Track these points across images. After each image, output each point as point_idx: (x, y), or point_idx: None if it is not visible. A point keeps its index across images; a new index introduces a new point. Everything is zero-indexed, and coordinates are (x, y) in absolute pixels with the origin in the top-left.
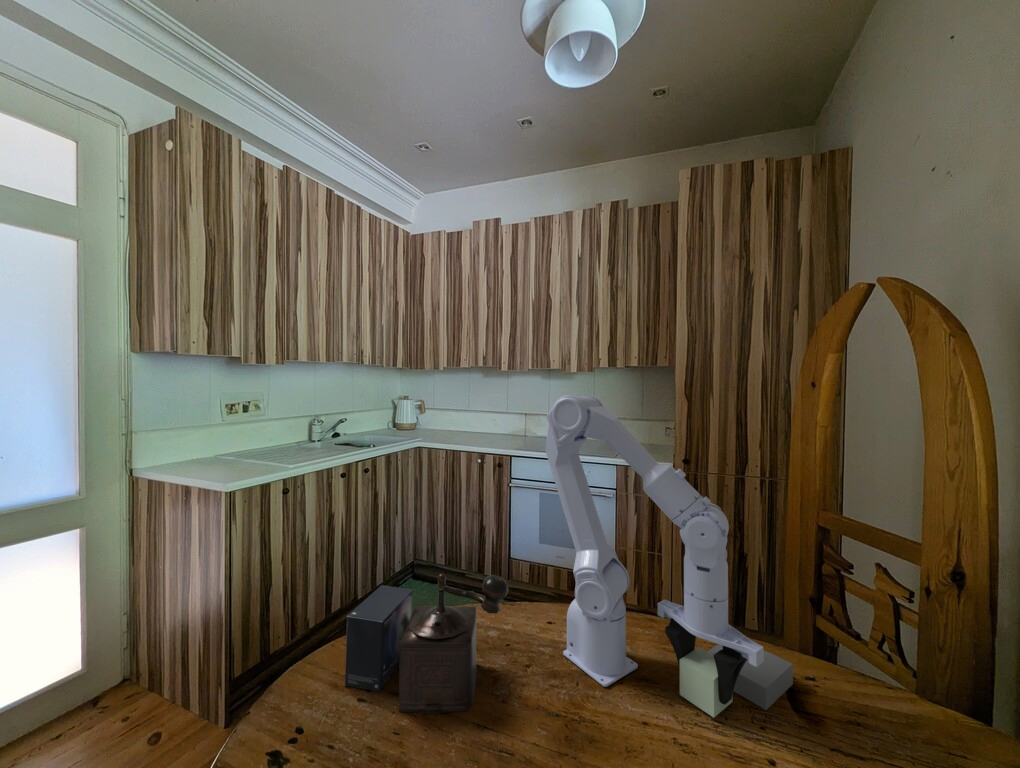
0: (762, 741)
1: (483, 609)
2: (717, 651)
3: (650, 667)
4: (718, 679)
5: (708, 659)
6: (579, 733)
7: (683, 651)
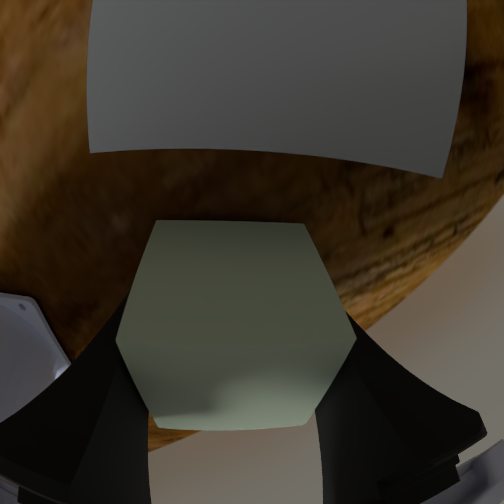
0: (389, 274)
1: None
2: (127, 43)
3: (36, 266)
4: (315, 411)
5: (229, 381)
6: (152, 427)
7: (143, 430)
